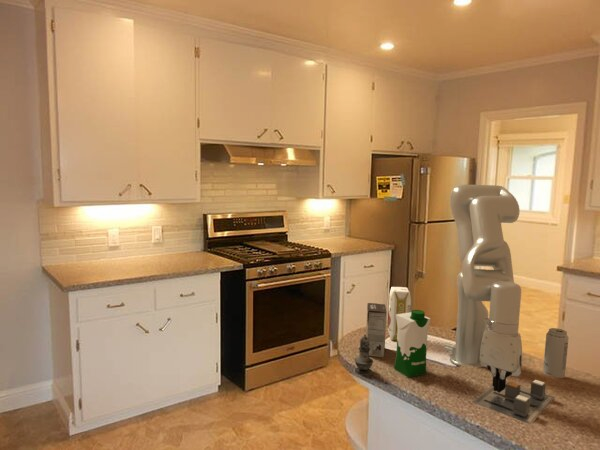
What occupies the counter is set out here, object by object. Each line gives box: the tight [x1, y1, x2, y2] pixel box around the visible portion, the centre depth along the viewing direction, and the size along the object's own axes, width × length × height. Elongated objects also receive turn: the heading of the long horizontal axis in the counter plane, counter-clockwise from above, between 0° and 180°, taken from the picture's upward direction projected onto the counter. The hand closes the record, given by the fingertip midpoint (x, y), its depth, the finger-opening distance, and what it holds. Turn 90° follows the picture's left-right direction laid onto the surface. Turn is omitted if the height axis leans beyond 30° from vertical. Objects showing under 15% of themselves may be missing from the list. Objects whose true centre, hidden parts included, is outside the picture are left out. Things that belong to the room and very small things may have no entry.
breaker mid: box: [504, 381, 521, 401], centre depth 124 cm, size 3×4×4 cm
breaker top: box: [530, 379, 547, 400], centre depth 125 cm, size 3×4×4 cm
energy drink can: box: [542, 327, 569, 379], centre depth 141 cm, size 6×6×15 cm
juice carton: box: [387, 286, 412, 341], centre depth 172 cm, size 8×9×19 cm
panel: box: [471, 380, 556, 425], centre depth 124 cm, size 15×20×1 cm
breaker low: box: [512, 395, 530, 417], centre depth 116 cm, size 3×4×4 cm
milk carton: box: [394, 309, 432, 378], centre depth 142 cm, size 9×9×20 cm
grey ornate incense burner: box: [354, 334, 374, 376], centre depth 142 cm, size 6×6×12 cm
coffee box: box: [365, 302, 387, 358], centre depth 158 cm, size 9×6×16 cm
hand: (498, 390), depth 127 cm, fingers closed
